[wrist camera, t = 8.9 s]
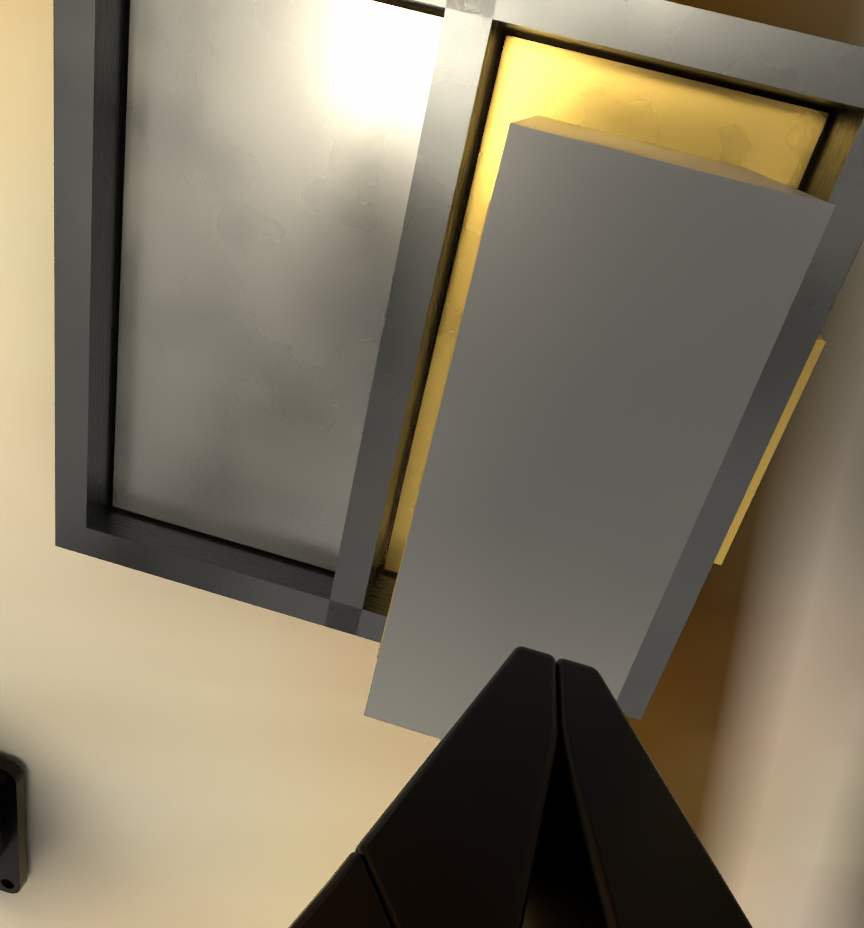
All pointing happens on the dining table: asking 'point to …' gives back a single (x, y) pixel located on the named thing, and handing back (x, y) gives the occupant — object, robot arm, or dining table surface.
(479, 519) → the panel
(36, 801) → the dining table surface
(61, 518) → the grey shallow square tray
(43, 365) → the dining table surface
